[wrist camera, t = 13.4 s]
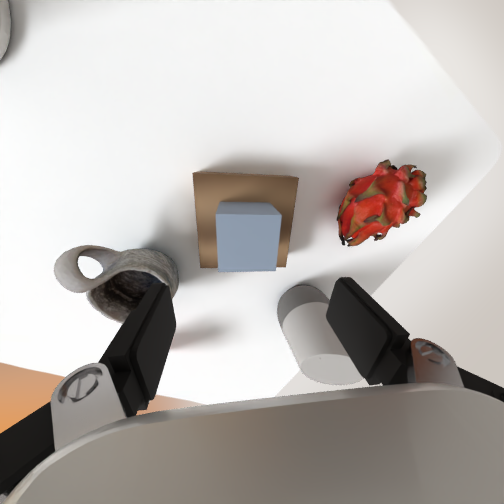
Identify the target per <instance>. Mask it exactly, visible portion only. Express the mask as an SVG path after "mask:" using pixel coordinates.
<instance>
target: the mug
mask: <svg viewBox="0 0 504 504" xmlns="http://www.w3.org/2000/svg"><path fill="white" fill-rule="evenodd" d="M79 256H88V257H91V258H93V259H95V260H97V261H98V262H99V263H100V264H101V265H102V267H103V272H102V273H101V274H100V275H99V276H97V277H96V278H95V279H89V278H86V277H85V276H84V275H83V274H82V272H81V271H80V269H79V267H78V263H77V262H78V258H79ZM54 274H55V277H56V279H57V280H58V282H59V283H60V284H61V285H62V286H63V287H64V288H66V289H67V290H70V291H72V292H76V293H83V292H86V295H87V299H88V301H89V303H90V304H91V305H92V307H93V308H94V309H96V310H97V311H99V312H101V314H102V315H104V316H105V317H107V318H109V319H111V320H114V321H116V322H119V323H121V324H123V323H124V321H125V320H126V318H127V317H128V315H129V314H130V312H131V311H132V310H136V308H137V307H138V305H139V304H140V302H141V300H142V299H143V297H144V295H145V294H146V292H147V291H148V289H149V287H150V286H151V284H152V283H165V284H166V285H169V287H170V292H171V298H173V297H174V295H175V293H176V291H177V289H178V285H179V277H178V271H177V268H176V266H175V264H174V262H173V261H172V260H171V258H169V257H168V256H166V255H165V254H163V253H161V252H158V251H154V250H150V249H130V250H125V251H122V252H118V251H115V250H112V249H109V248H105V247H101V246H93V245H84V246H79V247H76V248H72V249H70V250H68V251H66V252H64V253H63V254H62V255H61V256H60V257H59V258H58V259H57V260H56V263H55V265H54Z"/></svg>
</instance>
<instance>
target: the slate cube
mask: <svg viewBox="0 0 504 504" xmlns="http://www.w3.org/2000/svg"><path fill="white" fill-rule="evenodd" d="M281 217H282V215H281V214H280V213H279V212H278V211H277V210H276V208H275V207H274V206H273V205H272V204H271V203H267V202H219V205H218V208H217V211H216V233H217V254H218V272H250V271H276V264H277V255H278V245H279V236H280V227H281Z"/></svg>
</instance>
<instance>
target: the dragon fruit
mask: <svg viewBox="0 0 504 504" xmlns="http://www.w3.org/2000/svg"><path fill="white" fill-rule="evenodd" d="M416 166H417V165H416ZM416 166H414V165H403V166H401V167H400V168H399V169H398V170H397V167H395V166H394V165H392V166H391V163H390V161H389V160H385V161H384V162H380V163H379V164H378V166H377V168H376V171H375V172H374V174H373V175H370V176H367V177H363V178H357V179H355V180H353V181H351V182H350V184H349V186H350V189H349V190H348V192H347V194H346V196H345V198H344V200H343V201H342V204H341V205H340V207H339V212H338V217H337V220H338V225H339V237H340V239H341V241H342V245H345V241H347V243H349V244H348V247H349V246H357V245H359V244H361V243H362V242H363V241H365V240H366V239H368V238H369V237H370V236H374V238H375V239H374V241H375V240H376V241H377V240H378V239H379V240H381V239H383V238H384V237H385V236H386V235H387V232H388V230H389V229H390V228H391V227H392V226H393V227H396V228H399V227H400V223H401V224H404V223H407V221H409V216H415V217H416V218H417V217H419V216H420V213H418V212H416V211H415V210H414V208H415V207H420V206H422V205H423V204H424V203H425V202H426V199H427V196H426V195H425V194H423V193H424V191H425V190H426V186H425V185H426V181H425V177H426V174H425V173H424V172H423V171H421V170H415V171H413V172H412V173H411V170H412V168H413V167H414V168H417V167H416ZM377 233H382V235H381V234H380V235H378V234H377ZM343 235H344V237H343ZM350 237H352V239H348V238H350ZM347 239H348V240H347Z"/></svg>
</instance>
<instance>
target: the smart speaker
mask: <svg viewBox="0 0 504 504" xmlns="http://www.w3.org/2000/svg"><path fill="white" fill-rule="evenodd" d="M329 302H330V300H329V299H328V298H327V297H326V295H325V294H323V293H322V292H321V291H320V290H318V289H317V288H314V287H312V286H307V285H301V286H296V287H293V288H291V289H289V290H288V291H287V292H285V293H284V294H283V295H282V297H281V298H280V300H279V303H278V308H277V314H278V320H279V323H280V326H281V329H282V331H283V334H284V336H285V338H286V340H287V342H288V344H289V346H290V349H291V351H292V353H293V355H294V357H295V359H296V361H297V363H298V366H299V368H300V370H301V371H302V373H303V374H304V375H305V376H306V377H308V378H310V379H312V380H314V381H317V382H320V383H324V384H330V385H347V384H353V383H356V382H359V381H361V380H362V379H364V378H363V377H362V376H361V375H360V373H359V372H358V370H357V368H356V367H355V365H354V364H353V362H352V360H351V359H350V357H349V355H348V354H347V352H346V351H345V349H344V347H343V346H342V344H341V342H340V341H339V339H338V338H337V336H336V334H335V333H334V331H333V329H332V328H331V326H330V325H329V323H328V321H327V319H326V312H327V309H328V306H329Z"/></svg>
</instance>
